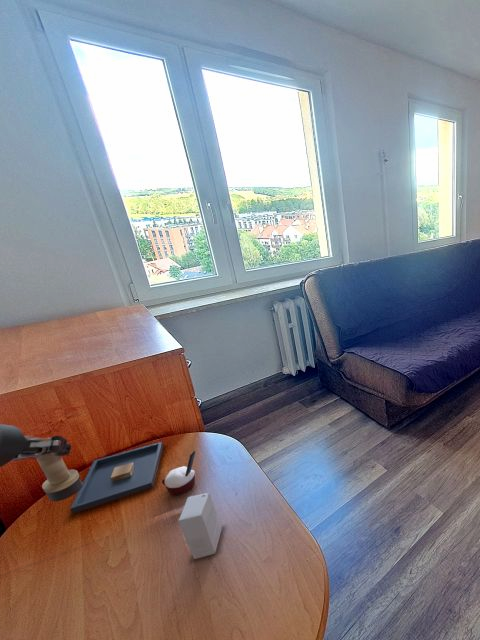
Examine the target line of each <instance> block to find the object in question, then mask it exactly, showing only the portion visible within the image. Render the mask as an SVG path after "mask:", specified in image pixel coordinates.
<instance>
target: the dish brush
mask: <svg viewBox="0 0 480 640" xmlns="http://www.w3.org/2000/svg"><path fill="white" fill-rule="evenodd" d="M47 438H48V439H49V440H50V438H51V437H47ZM46 451H47V449H46ZM36 460H37V462H38V464H39V467H40V469H41V470H42V472H43V474H44V476H45V478H46V480H45V481H44V482H43V483H42V485H41V488H42V489H43V492H44V493H45V494H46V496H47V498H48V500H49V501H51V502H60V501H65V500H66V499H68V498H71V497H72V496H74V495H75V494H78V492H79V490H80V489H81V488H82V486H83V481H82V479H81V477H80V474H79V471H78V470H76V469H72V468H71V469H68V467H67V465H66V463H65V461H64V459H63V456H58V455H53V456H50V455H45V456H43V457H38V458H36Z"/></svg>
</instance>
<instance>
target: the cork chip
mask: <svg viewBox="0 0 480 640" xmlns="http://www.w3.org/2000/svg"><path fill="white" fill-rule="evenodd" d="M134 467H135V466H134V464H133V463H129V464H126V465H122V466H119V467H115V468H114V471H113V473H112V475H111V480H112V482H114V481H117V480H120V479H124V478H127V477H130V476H132V473H133V470H134Z"/></svg>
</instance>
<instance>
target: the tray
mask: <svg viewBox="0 0 480 640" xmlns="http://www.w3.org/2000/svg"><path fill="white" fill-rule="evenodd" d="M163 449H164V443H163V441H159V442H155V443H152V444H148V445H144V446H141V447H137V448H133V449H130V450H127V451H122V452H120V453H115V454H112V455H109V456H105V457H101V458H98V459H94V460H93V461H92V463H91V466H90V468H89V469H88V472H87V474H86V476H85V478H84V480H83V481H82V483H83V486H82V488H81V489H80V490H79V491H78V492H77V493H76V496H75V498H74V500H73V502H72V504H71V506H70V511H71V513H72V514H75V513H79V512H82V511H84V510H88V509H91V508H94V507H97V506H99V505H103V504H105V503H106V504H107V503H108V502H112V501H115V500H118V499H122V498H124V497H128V496H130V495H134V494H137V493H140V492H142V491H145V490H148V489H152V488H154V486H155V481H156V477H157V473H158V469H159V465H160V461H161V457H162V453H163ZM129 463H133V464H134V466H135V467H134V470H133V473H132V476H130V477H127V478H124V479H120V480H117V481H114V482H112V480H111V475H112V473H113V471H114V468H115V467H119V466H122V465H126V464H129Z"/></svg>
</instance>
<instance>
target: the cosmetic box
mask: <svg viewBox="0 0 480 640" xmlns="http://www.w3.org/2000/svg"><path fill="white" fill-rule="evenodd" d="M178 523H179V526H180V528H181V531H182V534H183V537H184V538H185V541H186V543H187V547H188V548H189V551H190V553H191V555H192V558H193V560H196V559H201V558H203V557H207V556H208V557H209V556H212V555H215V554H216V552H217V549H218V548H217V547H218V544H219V540H220V537H221V533H222V529H223V528H222V525H221V523H220V520H219V517H218V514H217V511H216V508H215V505H214V503H213V499H212V496H211V493H210V492H209V491H208V492H204V493H200V494H195V495H191V496H187V498H186V501H185V503H184V505H183V509H182V511H181V514H180V516H179V519H178Z"/></svg>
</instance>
